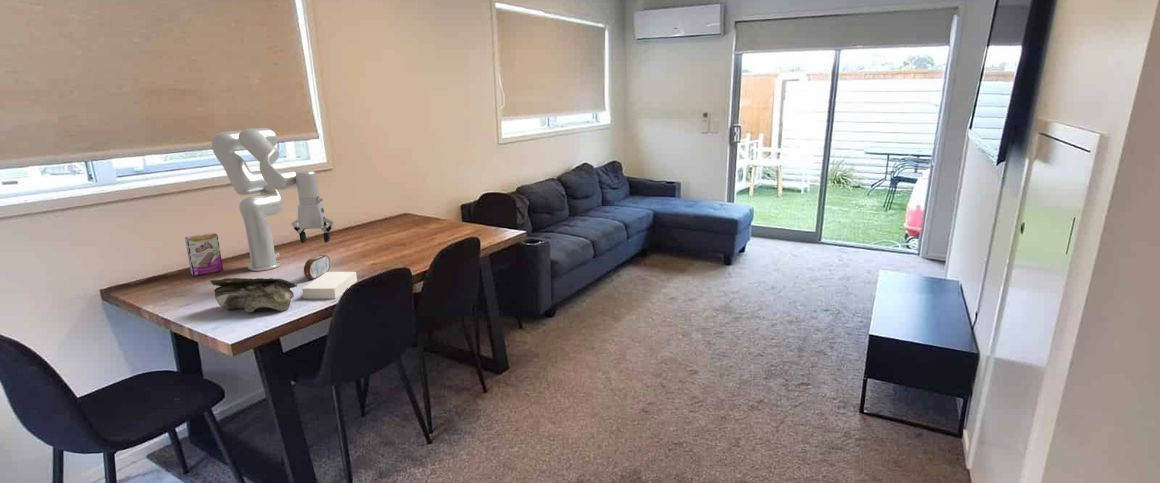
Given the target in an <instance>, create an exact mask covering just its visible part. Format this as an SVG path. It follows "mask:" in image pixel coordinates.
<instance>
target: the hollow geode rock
mask: <svg viewBox="0 0 1160 483" xmlns="http://www.w3.org/2000/svg"><path fill="white" fill-rule="evenodd" d="M209 283H211V285H213V286H217V287H215V289H214V290H213V291H214V297H215V300H216V302H217V304H218V305H219V307H220V308H221V309H226V310H228V311H230V310H232V309H233V310H234V309H238V308H239V309H243V310H245V312H249V313H250V312H251V313H254V312H255V310H256V309H260V308H270V309H273V310H276V311H278V312H284V311H286V310H288V309H289V308H290V305H291V299H293V298H294V297H295V294H294V292H293V291H292V289H294V288H297V287H298V285H297V284H296V283H294V282H290V281H289V280H286V279H283V278H271V277H270V278H259V277H257V278H247V277H246V278H240V277H233V278H229V277H228V278H225V277H224V278H223V279H212V280H209Z"/></svg>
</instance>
